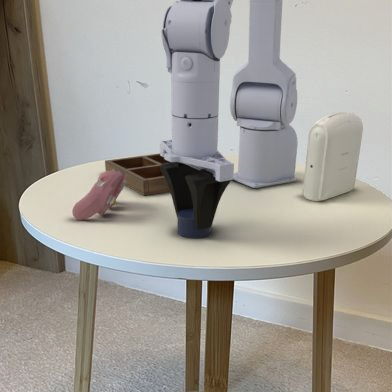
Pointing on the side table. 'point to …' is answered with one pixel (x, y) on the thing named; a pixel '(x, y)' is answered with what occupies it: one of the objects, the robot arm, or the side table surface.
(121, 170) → the grid
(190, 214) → the round container
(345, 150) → the photo printer
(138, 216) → the side table surface
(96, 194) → the pink rounded lump
